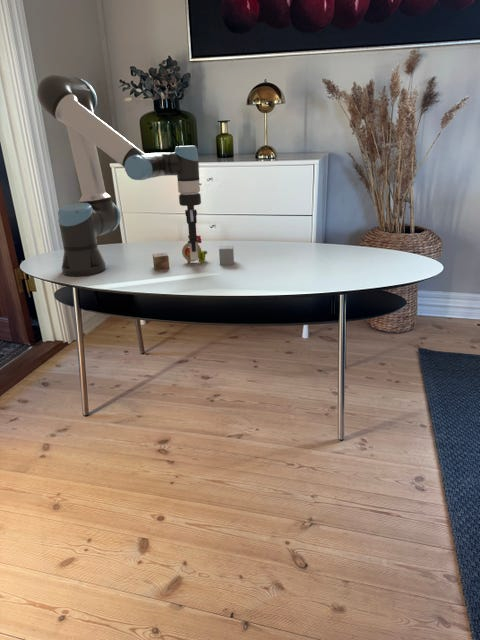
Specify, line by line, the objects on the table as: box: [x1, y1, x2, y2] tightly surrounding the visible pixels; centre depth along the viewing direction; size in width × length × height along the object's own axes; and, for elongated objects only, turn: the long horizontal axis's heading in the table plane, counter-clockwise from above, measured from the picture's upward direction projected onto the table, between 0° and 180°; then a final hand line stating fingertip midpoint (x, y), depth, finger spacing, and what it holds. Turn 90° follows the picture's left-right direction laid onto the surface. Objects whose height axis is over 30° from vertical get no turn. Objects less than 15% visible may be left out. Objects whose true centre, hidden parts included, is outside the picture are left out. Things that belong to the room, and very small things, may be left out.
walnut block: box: [152, 252, 170, 271], centre depth 174 cm, size 5×5×5 cm
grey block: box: [218, 245, 235, 266], centre depth 177 cm, size 5×5×6 cm
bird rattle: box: [181, 235, 208, 264], centre depth 179 cm, size 6×11×9 cm
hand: (194, 259), depth 174 cm, fingers closed
